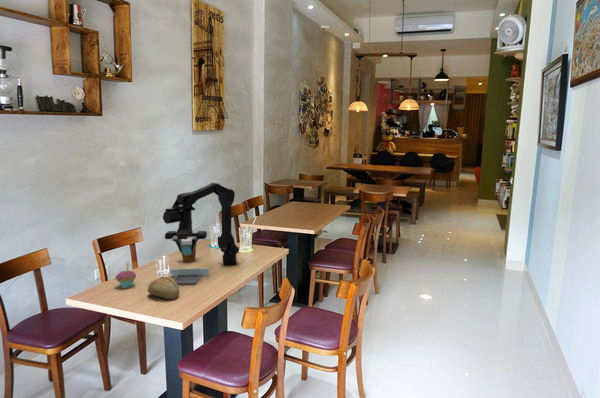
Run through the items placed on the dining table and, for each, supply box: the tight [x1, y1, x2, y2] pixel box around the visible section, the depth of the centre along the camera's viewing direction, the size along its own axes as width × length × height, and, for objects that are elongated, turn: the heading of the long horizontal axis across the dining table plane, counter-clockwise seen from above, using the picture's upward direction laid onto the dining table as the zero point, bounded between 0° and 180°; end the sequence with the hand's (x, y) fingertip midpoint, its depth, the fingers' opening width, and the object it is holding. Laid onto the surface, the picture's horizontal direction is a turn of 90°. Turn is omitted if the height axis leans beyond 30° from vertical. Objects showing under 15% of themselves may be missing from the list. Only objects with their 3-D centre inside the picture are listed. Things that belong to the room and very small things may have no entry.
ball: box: [181, 245, 192, 255], centre depth 213 cm, size 5×5×5 cm
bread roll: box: [147, 276, 180, 300], centre depth 191 cm, size 10×15×8 cm, turn 65°
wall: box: [170, 267, 210, 277], centre depth 217 cm, size 18×1×4 cm, turn 91°
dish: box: [173, 274, 202, 286], centre depth 210 cm, size 11×11×1 cm
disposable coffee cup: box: [181, 237, 198, 264], centre depth 240 cm, size 10×10×12 cm
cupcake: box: [115, 262, 137, 289], centre depth 203 cm, size 9×8×12 cm
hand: (186, 252), depth 213 cm, fingers closed on ball, 5 cm apart
